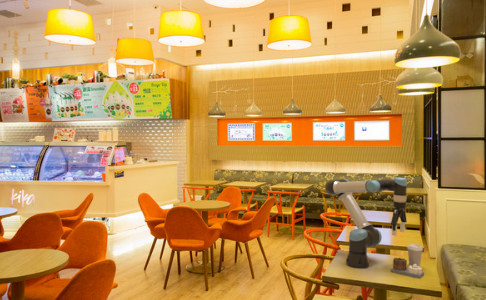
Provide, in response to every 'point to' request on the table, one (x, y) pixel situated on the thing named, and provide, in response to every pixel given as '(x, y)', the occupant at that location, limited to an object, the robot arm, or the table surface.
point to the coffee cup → (414, 254)
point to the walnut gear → (399, 264)
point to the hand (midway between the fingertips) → (398, 233)
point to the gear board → (410, 271)
